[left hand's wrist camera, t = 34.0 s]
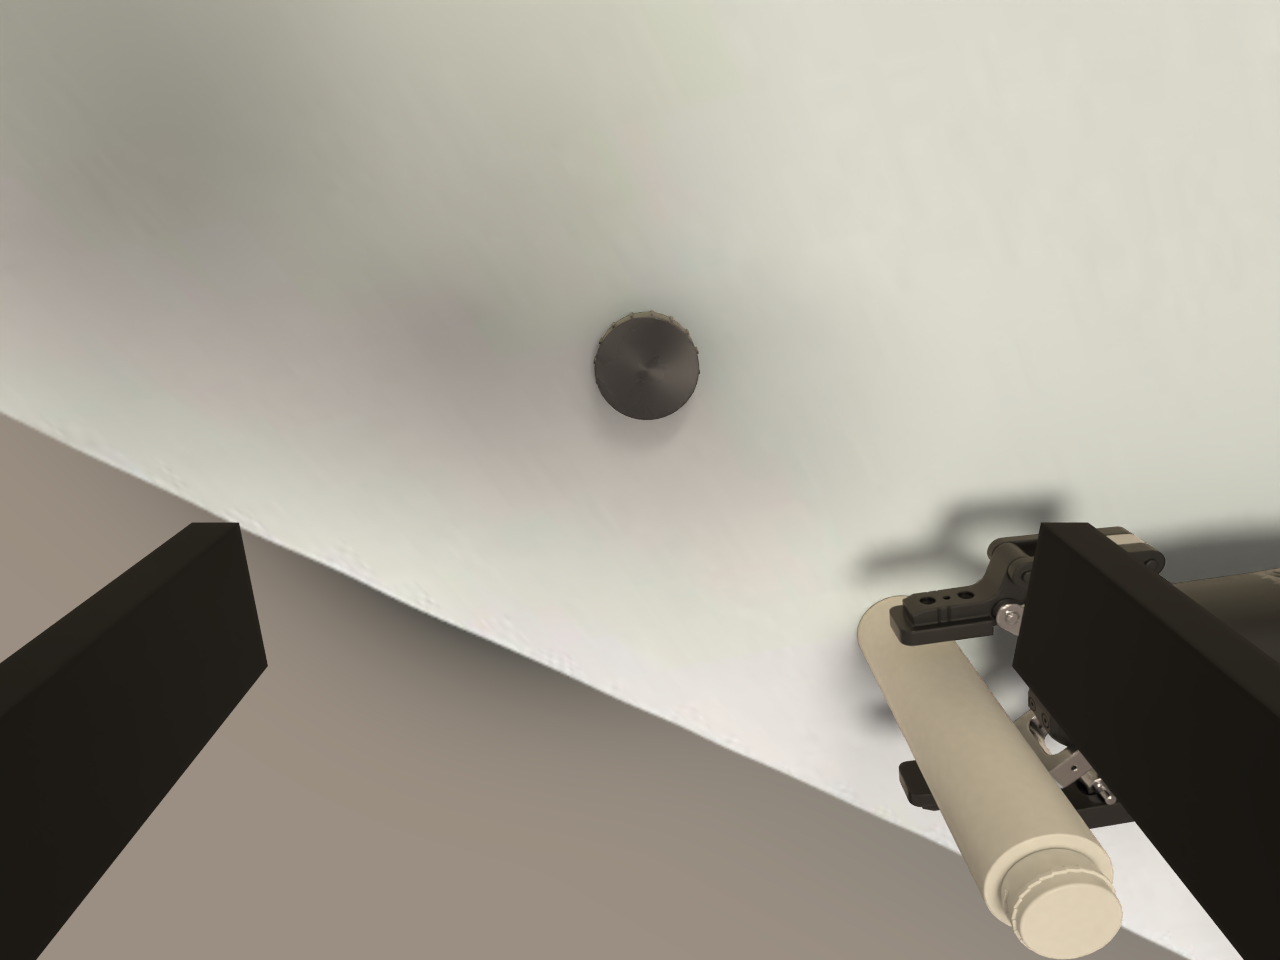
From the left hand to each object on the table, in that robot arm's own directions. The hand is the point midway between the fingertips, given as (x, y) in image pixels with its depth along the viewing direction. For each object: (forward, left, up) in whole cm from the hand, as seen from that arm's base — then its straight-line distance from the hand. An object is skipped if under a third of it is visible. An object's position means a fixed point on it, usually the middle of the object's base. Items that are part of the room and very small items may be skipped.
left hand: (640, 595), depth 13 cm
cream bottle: (+19, -7, -24) cm, 31 cm away
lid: (0, 0, -22) cm, 22 cm away
